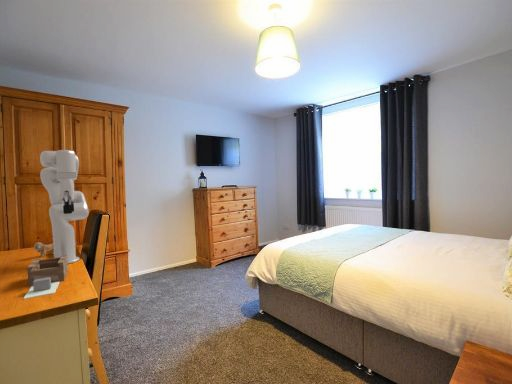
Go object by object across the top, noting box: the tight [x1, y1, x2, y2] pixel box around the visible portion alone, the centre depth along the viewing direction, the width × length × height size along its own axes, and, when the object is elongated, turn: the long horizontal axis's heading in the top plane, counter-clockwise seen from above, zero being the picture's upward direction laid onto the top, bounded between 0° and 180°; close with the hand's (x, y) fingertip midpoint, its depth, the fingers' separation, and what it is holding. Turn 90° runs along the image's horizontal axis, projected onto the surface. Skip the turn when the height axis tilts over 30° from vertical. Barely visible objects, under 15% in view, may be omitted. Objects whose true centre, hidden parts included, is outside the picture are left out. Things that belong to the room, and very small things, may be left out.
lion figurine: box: [33, 241, 54, 258], centre depth 159 cm, size 15×5×9 cm, turn 155°
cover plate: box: [22, 277, 61, 300], centre depth 104 cm, size 13×9×5 cm
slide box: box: [26, 255, 69, 288], centre depth 118 cm, size 14×12×8 cm
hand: (69, 212), depth 126 cm, fingers open, 9 cm apart
